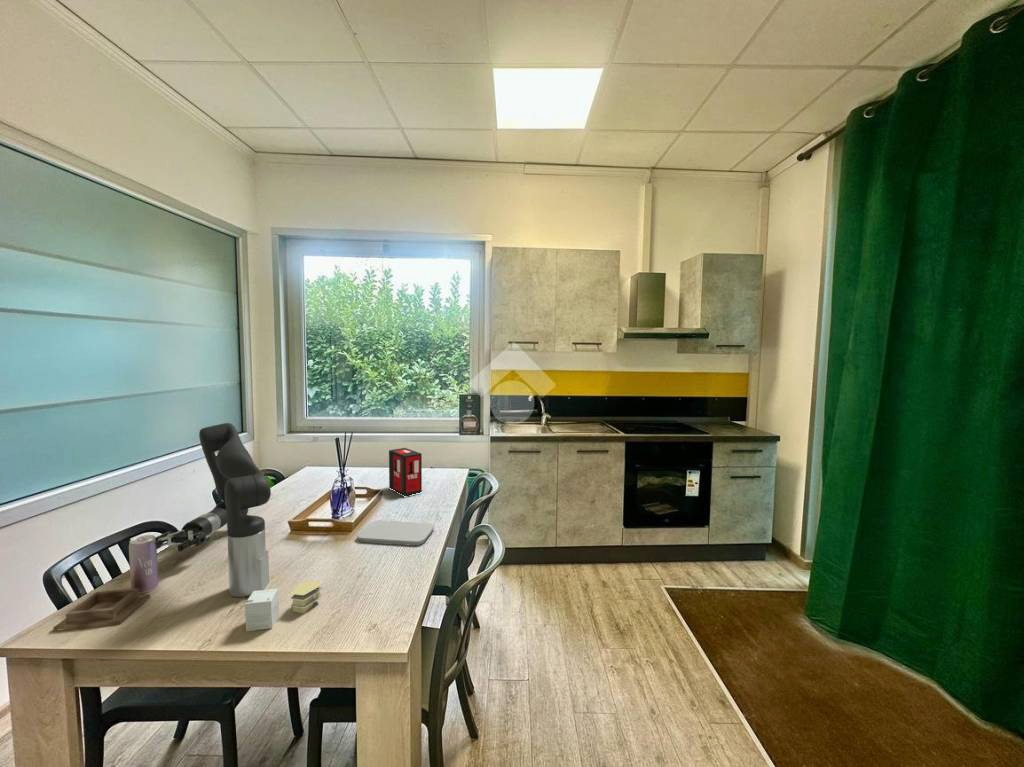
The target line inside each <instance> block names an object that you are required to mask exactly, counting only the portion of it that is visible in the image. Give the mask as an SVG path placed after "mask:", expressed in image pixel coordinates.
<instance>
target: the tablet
mask: <svg viewBox="0 0 1024 767" xmlns="http://www.w3.org/2000/svg"><path fill="white" fill-rule="evenodd" d="M434 529H435V525H434V524H432V523H429V522H428V523H427V522H413V521H412V522H411V521H393V520H382V519H381V520H380V519H379V520H373V521H371V522H369V523H368V524H367V525H366V526H365V527H364V528H362V529H361V530H360V531H359V532H358V533H357V534H356V537H357V539H358V541H359V542H360V543H373V544H386V543H390V544H389V545H400V544H409V545H408V546H415V545H416V546H421V545H423V544H424V543H425V542H426V541H427V539H429V536H430V535H431V534H432V532H433V531H434ZM420 544H421V545H420Z"/></svg>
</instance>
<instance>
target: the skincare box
mask: <svg viewBox="0 0 1024 767" xmlns="http://www.w3.org/2000/svg"><path fill="white" fill-rule="evenodd" d="M279 601H280V598H279V588H271V589H264V590H259V591H253V593H252V594H251V595H249V597H248V599H247V600H246V601H245V603H244V616H245V617H244V618H245V631H246V632H255V631H261V630H269V629H273V627H274V626H275V624H276V621H277V619H278V618H279V616H280V602H279Z"/></svg>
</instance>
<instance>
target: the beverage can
mask: <svg viewBox="0 0 1024 767" xmlns="http://www.w3.org/2000/svg"><path fill="white" fill-rule="evenodd" d="M155 537H156V536H155V534H154V535H153V534H147V535H141V536H137V537H135V538H132V539H131V540H129V542H128V543H129V544H128V557H129V558H128V559H129V575H130V578H129V579H130V589H136V588H139V595H145V594H148V593H149V592H151V591H153V590H155V589H156V588H157V587H158V585H159V572H158V570H159V568H158V549H157V546H156V539H155Z"/></svg>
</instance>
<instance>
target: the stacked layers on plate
mask: <svg viewBox="0 0 1024 767" xmlns="http://www.w3.org/2000/svg"><path fill="white" fill-rule="evenodd" d="M321 585H322V582H321V581H318V580H317V581H303V582H301V583H299V585H298V586H297V587H295V588H294V589H293V591H292V592H291V593H290V594H291V595H292V596H291V597H290V599H291V600H292V604H291V605H290V607H291V608H292V612H293V613H300V614H305V613H306V612H308V611H309V609H311V608H312V607H314V603H315V602H317V601H319V600H320V599H321V598H323V595H322V592H321V591H322V590H323V588H322V587H321Z"/></svg>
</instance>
